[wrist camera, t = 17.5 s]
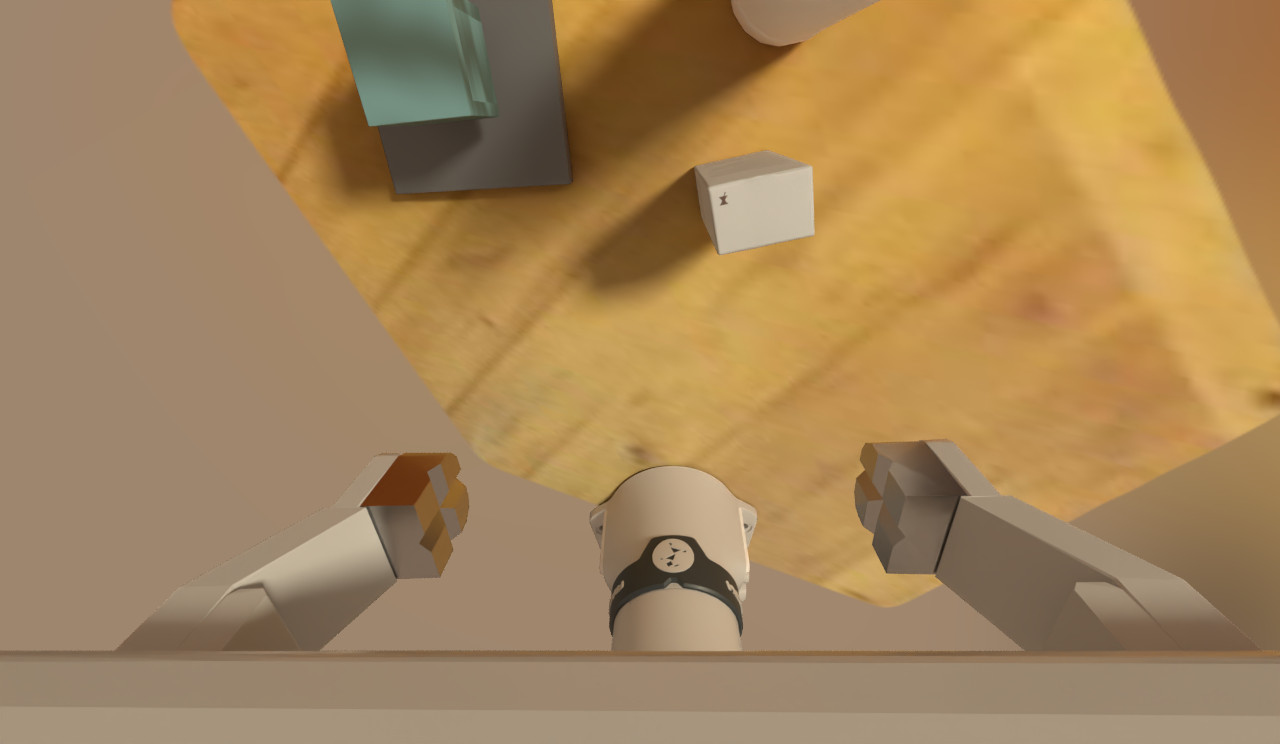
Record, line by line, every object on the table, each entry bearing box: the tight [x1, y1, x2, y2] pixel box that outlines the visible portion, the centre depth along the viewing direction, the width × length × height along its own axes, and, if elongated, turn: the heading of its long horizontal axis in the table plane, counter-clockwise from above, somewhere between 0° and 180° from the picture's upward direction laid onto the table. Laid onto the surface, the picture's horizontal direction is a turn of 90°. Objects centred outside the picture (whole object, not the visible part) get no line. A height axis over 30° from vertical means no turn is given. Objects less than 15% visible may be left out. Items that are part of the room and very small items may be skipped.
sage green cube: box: [331, 0, 500, 126], centre depth 30 cm, size 6×6×6 cm
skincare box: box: [694, 150, 814, 255], centre depth 34 cm, size 6×4×12 cm
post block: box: [378, 0, 573, 194], centre depth 32 cm, size 16×14×9 cm
